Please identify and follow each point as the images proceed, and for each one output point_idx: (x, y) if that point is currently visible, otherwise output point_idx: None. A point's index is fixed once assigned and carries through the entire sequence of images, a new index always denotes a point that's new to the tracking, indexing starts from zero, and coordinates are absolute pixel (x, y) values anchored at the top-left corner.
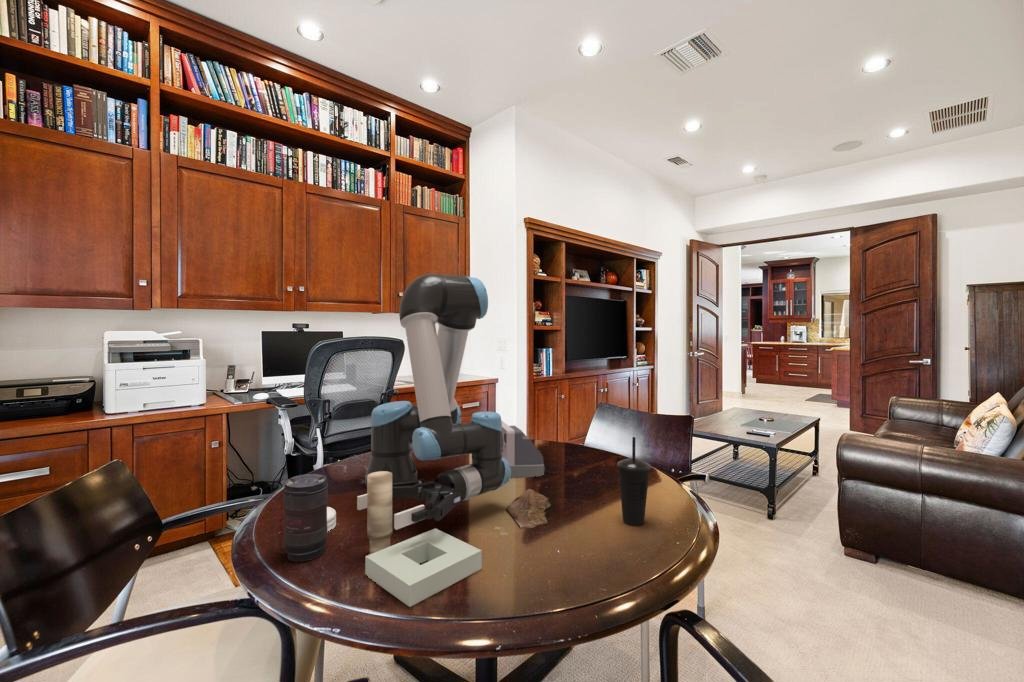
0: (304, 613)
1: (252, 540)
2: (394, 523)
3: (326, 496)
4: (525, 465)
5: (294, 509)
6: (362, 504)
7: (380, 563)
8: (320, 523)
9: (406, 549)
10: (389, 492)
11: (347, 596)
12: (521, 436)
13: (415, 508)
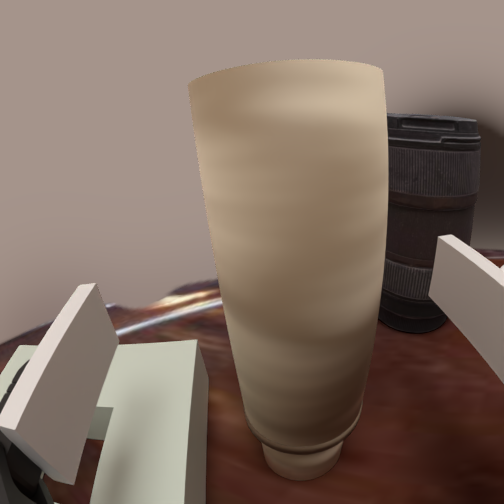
0: (183, 288)
1: (486, 256)
2: (108, 321)
3: (414, 174)
4: None
5: None
6: (441, 284)
7: (126, 349)
8: (386, 242)
9: (119, 433)
10: (210, 215)
11: (165, 333)
12: None
13: (27, 364)
